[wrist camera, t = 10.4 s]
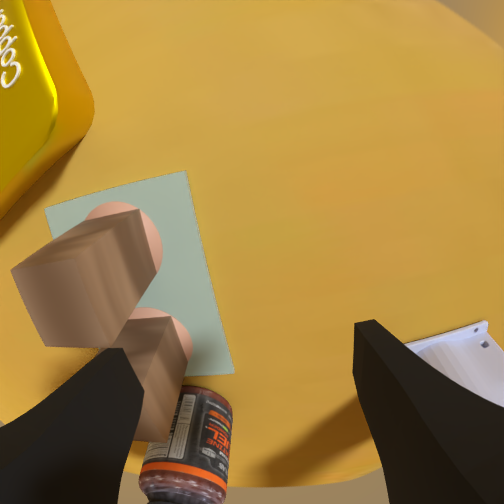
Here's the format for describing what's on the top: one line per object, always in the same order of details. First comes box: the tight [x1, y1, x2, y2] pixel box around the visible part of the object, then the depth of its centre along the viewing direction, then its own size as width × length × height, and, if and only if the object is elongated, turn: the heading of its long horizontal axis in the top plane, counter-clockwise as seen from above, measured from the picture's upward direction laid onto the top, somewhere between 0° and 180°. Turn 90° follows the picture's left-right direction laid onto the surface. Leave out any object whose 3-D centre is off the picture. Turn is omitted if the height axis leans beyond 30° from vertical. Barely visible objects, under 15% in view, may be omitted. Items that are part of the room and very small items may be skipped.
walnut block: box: [11, 209, 157, 348], centre depth 14 cm, size 4×4×7 cm
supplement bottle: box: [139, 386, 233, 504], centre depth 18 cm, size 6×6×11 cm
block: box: [95, 316, 188, 443], centre depth 16 cm, size 4×4×7 cm
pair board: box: [44, 171, 235, 376], centre depth 19 cm, size 10×14×1 cm
